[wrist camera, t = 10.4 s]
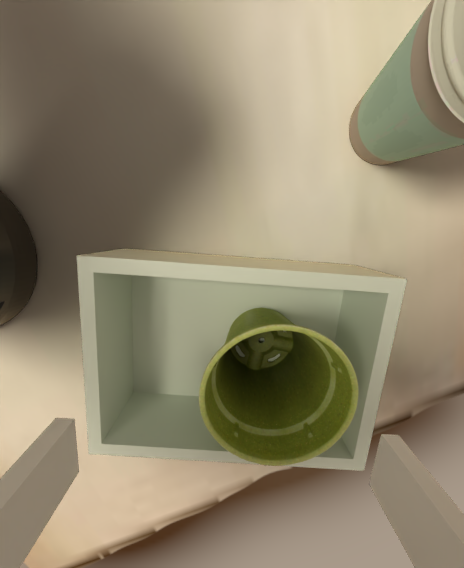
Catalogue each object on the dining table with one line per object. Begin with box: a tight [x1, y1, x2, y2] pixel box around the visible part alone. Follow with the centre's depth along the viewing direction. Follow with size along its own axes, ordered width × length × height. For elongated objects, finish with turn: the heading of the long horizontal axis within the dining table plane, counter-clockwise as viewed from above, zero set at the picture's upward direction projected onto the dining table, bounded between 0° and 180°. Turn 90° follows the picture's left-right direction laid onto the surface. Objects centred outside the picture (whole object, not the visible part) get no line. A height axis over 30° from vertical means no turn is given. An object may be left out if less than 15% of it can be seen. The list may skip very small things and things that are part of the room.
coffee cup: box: [349, 0, 464, 165], centre depth 14 cm, size 8×8×12 cm
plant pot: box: [199, 308, 359, 466], centre depth 18 cm, size 9×9×9 cm
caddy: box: [77, 248, 407, 471], centre depth 20 cm, size 21×15×7 cm
